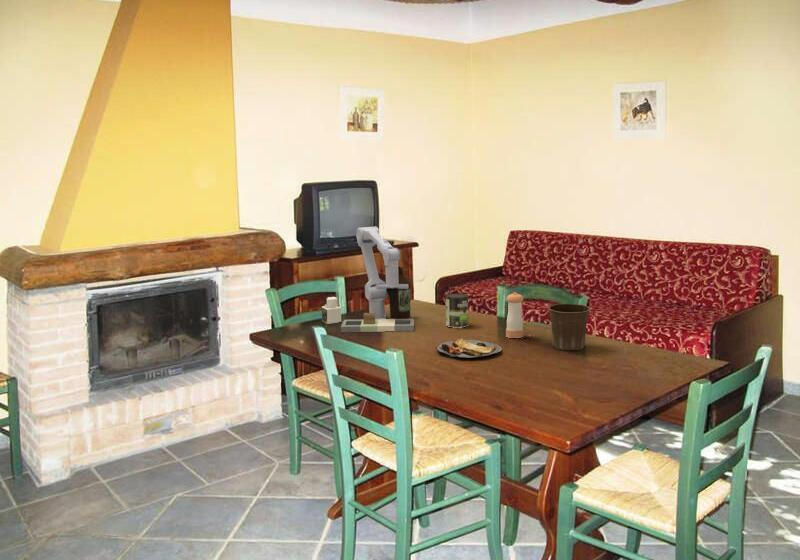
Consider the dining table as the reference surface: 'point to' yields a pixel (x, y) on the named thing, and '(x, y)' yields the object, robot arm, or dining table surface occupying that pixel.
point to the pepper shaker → (514, 316)
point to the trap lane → (378, 325)
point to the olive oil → (401, 299)
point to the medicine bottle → (331, 310)
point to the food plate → (468, 348)
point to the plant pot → (568, 325)
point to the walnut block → (369, 318)
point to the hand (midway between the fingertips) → (392, 304)
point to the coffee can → (456, 310)
